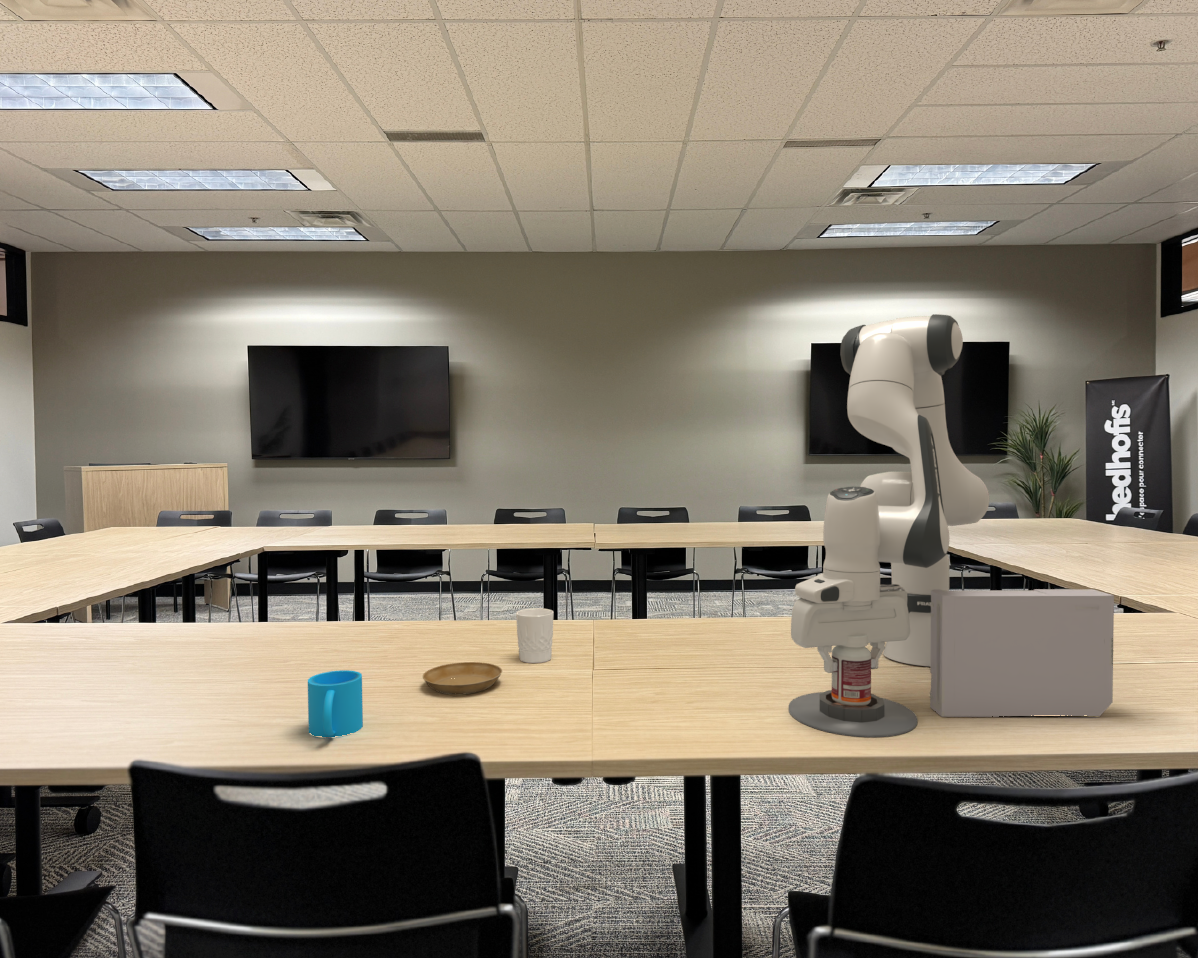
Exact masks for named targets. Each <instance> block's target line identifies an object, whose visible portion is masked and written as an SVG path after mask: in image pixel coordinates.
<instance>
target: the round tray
mask: <svg viewBox="0 0 1198 958" xmlns="http://www.w3.org/2000/svg"><path fill="white" fill-rule="evenodd" d="M788 713H789V714H790V716H791V717H792V718H793V719H794V720H795V721H797V722H799V723H801V724H802V725H805V726H806V727H809V728H812V729H815V730H818V731H822V732H825V733H829V734H835V735H841V736H846V737H856V738H858V737H859V738H886V737H888V738H889V737H896V736H899V735H903V734H907V733H909V732H911V731H913V730H914V729H916V727H917V725H918V716H917V715H916V713H915V712H914V711H913V710H912V709H910V708H909V707H907V706H906V705H903V704H901V703H899V702H896V701H894V700H891V699H887V698H884V697H880V696H878V695H876V694H874V693H871V702H870V703H869V704H867V705H864V706H847V705H843V704H840V703H837V702H836V701H834V700H833V699H832V689H829V690H825V691H821V692H819V691H818V692H813V693H806V694H803V695H799V696H796V697H795V698H793V699H792V700H790V702H789V703H788Z"/></svg>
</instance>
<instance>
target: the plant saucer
mask: <svg viewBox="0 0 1198 958" xmlns="http://www.w3.org/2000/svg"><path fill="white" fill-rule="evenodd" d="M502 674H503V669H502V668H501V667H500V666H499V665H496V664H493V663H489V662H481V661H479V662H476V661H466V662H465V661H464V662H454V663H453V662H452V663H447V664H442V665H438V666H435V667H432V668H430V669H428V670H427V671H425V672H424V673H423V674H422V679H423V681H424V682H425V683H426V684H427V685H428V686H429V687H430V688H431V689H432V690H434V691H435V692H437V693H440V694H446V695H468V694H475V693H479V692H483V691H485V690H487V688H488V689H489V688H490V687H492V686H494V685H493V684H495V683H496V682H497V680H499V678H500V677H501V675H502ZM451 678H452V679H451ZM454 678H455V679H454Z"/></svg>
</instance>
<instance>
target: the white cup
mask: <svg viewBox="0 0 1198 958" xmlns="http://www.w3.org/2000/svg"><path fill="white" fill-rule="evenodd" d="M515 615H516V619H515V620H516V636H517V646H518V658H519V660H520V662H523V663H528V664H540V663H546V662H548V661H550V660H551V659H552V655H553V654H552V651H553V650H552V649H553V648H552V647H553V638H554V637H553V636H554V610H552V609H548V608H541V607H540V608H538V607H537V608H535V607H534V608H533V607H532V608H524V609H521V610H517V611H516V612H515Z"/></svg>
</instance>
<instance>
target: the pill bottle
mask: <svg viewBox="0 0 1198 958" xmlns="http://www.w3.org/2000/svg"><path fill="white" fill-rule="evenodd" d="M847 639H848V641H847V644H846V645H839V646H833V647H832V652H831V659H832V660H834V661H836V662H838V666H837V669H838V671H837V672H834V673H831V690H832V699H833V700H834V701H836V702H837V703H840V704H843V705H847V706H864V705H867V704H869V703H870V702H871V694H872V669H871V650H869V648H868V647H867V646H868V645H869V643H868V636H867V635H856V636H848V638H847Z"/></svg>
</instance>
